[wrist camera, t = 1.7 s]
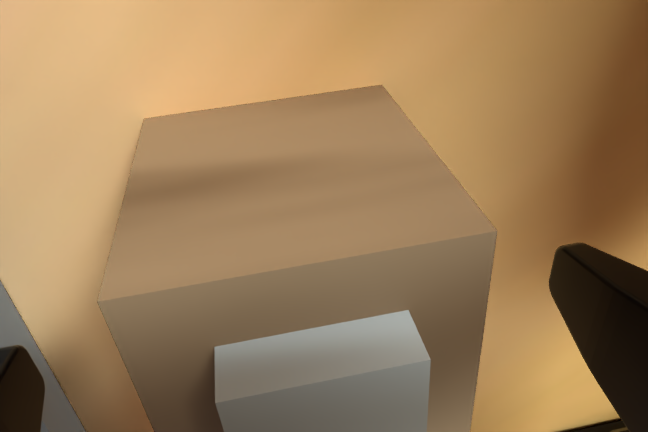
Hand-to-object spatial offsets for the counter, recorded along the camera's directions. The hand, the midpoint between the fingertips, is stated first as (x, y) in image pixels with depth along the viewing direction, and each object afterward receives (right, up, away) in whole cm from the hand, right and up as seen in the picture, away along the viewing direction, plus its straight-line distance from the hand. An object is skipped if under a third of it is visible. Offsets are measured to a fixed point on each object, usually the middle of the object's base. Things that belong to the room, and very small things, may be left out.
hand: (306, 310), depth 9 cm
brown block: (-1, +2, +2) cm, 3 cm away
